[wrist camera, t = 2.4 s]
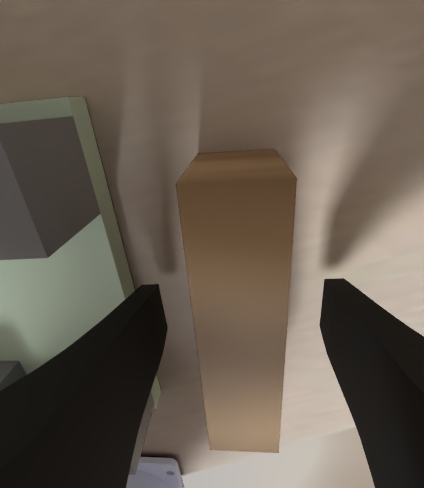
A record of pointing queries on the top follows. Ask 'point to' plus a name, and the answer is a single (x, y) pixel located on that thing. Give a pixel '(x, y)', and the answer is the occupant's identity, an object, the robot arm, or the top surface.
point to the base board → (64, 264)
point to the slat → (239, 289)
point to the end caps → (46, 207)
